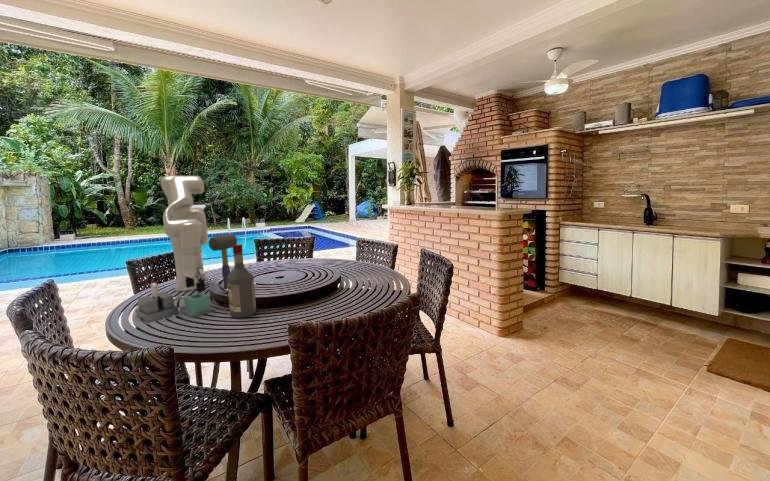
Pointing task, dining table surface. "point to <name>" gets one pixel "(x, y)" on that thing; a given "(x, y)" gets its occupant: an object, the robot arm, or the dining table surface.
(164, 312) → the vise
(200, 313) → the mat
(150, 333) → the dining table surface
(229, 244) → the rubber mallet
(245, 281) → the liquor
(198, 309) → the collar
